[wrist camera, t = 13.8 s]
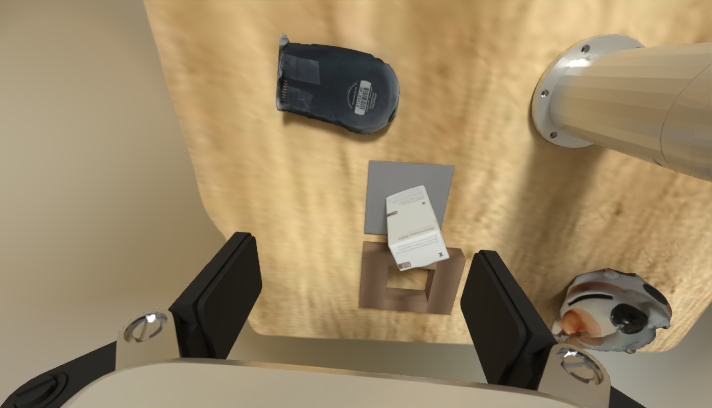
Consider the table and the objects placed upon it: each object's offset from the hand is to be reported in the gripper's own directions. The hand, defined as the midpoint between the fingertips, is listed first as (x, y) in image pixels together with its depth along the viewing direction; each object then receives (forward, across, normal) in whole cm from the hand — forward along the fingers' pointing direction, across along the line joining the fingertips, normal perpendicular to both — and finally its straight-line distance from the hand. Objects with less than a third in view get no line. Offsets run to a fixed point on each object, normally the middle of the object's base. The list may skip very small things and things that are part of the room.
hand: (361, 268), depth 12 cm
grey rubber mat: (+28, -6, +10) cm, 31 cm away
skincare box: (+28, -6, +10) cm, 30 cm away
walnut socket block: (+28, -8, +24) cm, 38 cm away
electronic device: (+29, +4, -5) cm, 30 cm away
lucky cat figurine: (+29, -39, +26) cm, 55 cm away
